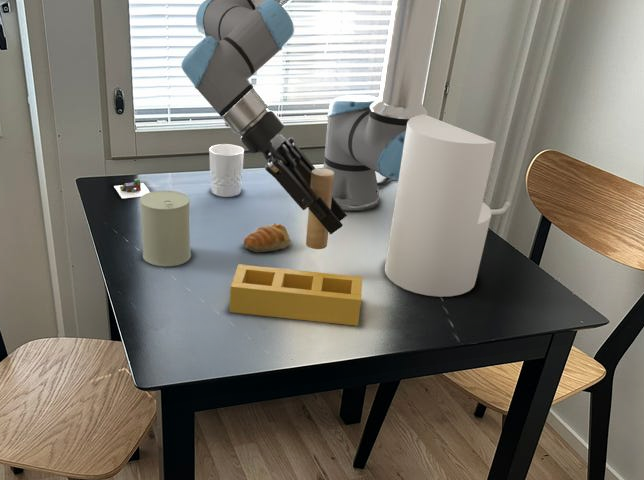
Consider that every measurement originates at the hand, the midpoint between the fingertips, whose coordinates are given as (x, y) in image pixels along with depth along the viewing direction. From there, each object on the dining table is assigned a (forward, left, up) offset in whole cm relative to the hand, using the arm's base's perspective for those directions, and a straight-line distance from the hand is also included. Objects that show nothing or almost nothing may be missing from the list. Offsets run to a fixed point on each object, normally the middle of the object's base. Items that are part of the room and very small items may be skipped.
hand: (338, 224), depth 131 cm
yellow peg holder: (+14, +7, -10) cm, 18 cm away
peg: (+3, -3, -5) cm, 6 cm away
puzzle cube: (+17, -55, -10) cm, 58 cm away
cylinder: (-16, +9, -10) cm, 21 cm away
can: (+25, -21, -10) cm, 34 cm away
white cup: (-2, -45, -10) cm, 46 cm away
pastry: (+5, -16, -10) cm, 19 cm away
